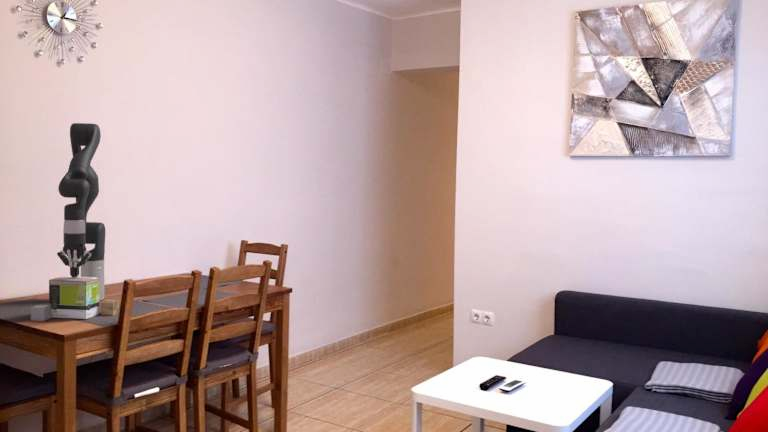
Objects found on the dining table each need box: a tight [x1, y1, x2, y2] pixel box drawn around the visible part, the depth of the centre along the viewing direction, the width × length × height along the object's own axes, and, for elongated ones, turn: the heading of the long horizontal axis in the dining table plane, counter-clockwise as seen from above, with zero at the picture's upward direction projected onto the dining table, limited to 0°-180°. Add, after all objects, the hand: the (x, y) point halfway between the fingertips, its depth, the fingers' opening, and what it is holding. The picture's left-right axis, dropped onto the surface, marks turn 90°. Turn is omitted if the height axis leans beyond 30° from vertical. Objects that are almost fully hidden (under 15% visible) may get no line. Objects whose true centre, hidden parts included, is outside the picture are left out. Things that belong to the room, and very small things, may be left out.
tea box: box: [48, 275, 101, 320], centre depth 250 cm, size 15×10×15 cm, turn 84°
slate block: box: [30, 303, 53, 322], centre depth 244 cm, size 5×5×5 cm
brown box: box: [100, 299, 120, 316], centre depth 256 cm, size 5×5×5 cm
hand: (74, 276), depth 249 cm, fingers closed
